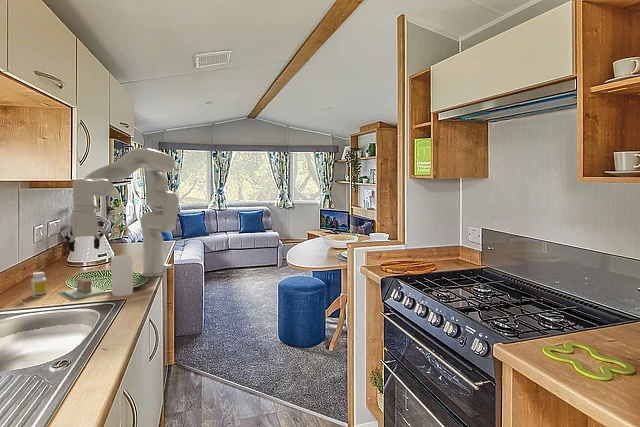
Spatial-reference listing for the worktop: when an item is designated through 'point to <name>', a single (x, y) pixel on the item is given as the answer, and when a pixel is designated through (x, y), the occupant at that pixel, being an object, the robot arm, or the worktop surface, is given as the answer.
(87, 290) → the lid
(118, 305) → the worktop surface
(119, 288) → the cup
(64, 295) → the mat
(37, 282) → the supplement bottle
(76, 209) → the robot arm
